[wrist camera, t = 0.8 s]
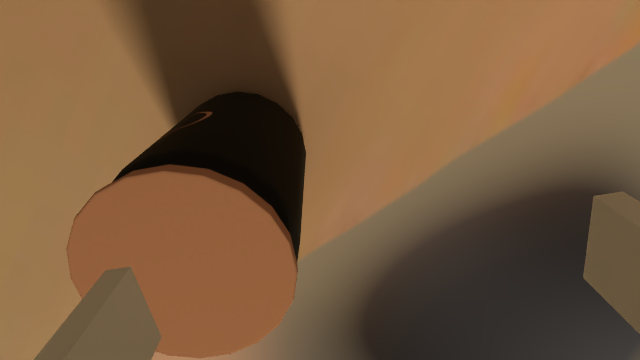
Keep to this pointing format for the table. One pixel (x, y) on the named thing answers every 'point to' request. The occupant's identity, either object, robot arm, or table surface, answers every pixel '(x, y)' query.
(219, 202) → the coffee jar
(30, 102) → the table surface
